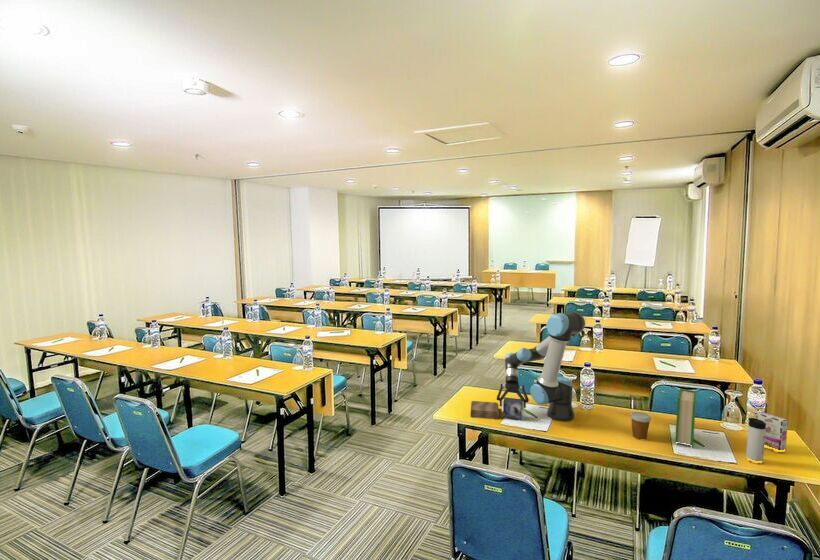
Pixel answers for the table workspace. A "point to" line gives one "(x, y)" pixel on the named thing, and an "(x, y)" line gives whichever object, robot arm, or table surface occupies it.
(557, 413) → the robot arm
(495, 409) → the walnut stand
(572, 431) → the table surface
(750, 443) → the travel mug
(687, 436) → the hardback book
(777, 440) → the candy bar box
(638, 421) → the disposable coffee cup
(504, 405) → the small box
